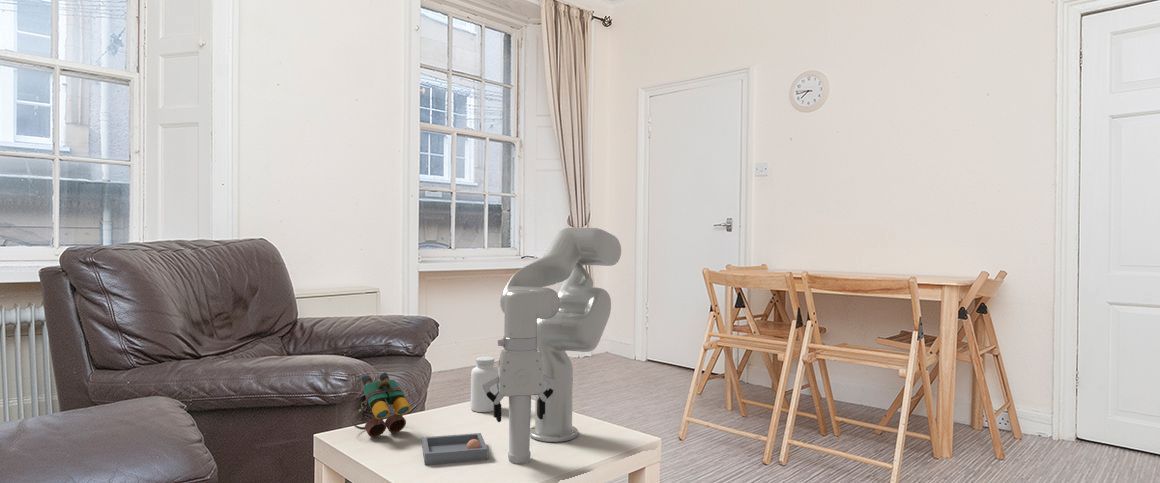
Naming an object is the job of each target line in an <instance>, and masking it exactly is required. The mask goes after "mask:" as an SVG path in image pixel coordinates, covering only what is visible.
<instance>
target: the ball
mask: <svg viewBox="0 0 1160 483" xmlns="http://www.w3.org/2000/svg"><path fill="white" fill-rule="evenodd" d="M474 448H481V444H480V442H479V441H478V440H476V439H472V440H470V441H469V442H468V443H467V449H474Z"/></svg>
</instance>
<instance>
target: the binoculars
mask: <svg viewBox="0 0 1160 483" xmlns="http://www.w3.org/2000/svg"><path fill="white" fill-rule="evenodd" d="M378 378H379V381H374V382H373V380H372V378H371V376H370V375H368V374H365V375H364V374H363V375H362V376H361V378H360V380H361V381H362V383H363V387H362V390H363V393H364V395H365V400H364V401H363V402H361V404H360V406H361V407H360V408H359V409H358V410H356V411H355V412H354V413H353V414H351V415H352V416H351V417H350V418H351V419H350V420H351V423H352V425H353V426H354V428H356V429H357V430H362V431H363V430H364V431H366V433H367V435H368V436H369V437H371V438H376V437H379V436H381V435H383V433H384V432H386V429H387V431H388V432H389V433H391V434H395V433H399V432H401V431H402V430H404V428H405V427H406V424H407V420H406V419H405V417H404V416H403V415H404V414H407V413H408V412H409V411H410V410H411V405H410V404H409V402H408V400H407V399H406V398H405V397H406V396H405V394H404V392H403V390H402V389H401V388H400V386H399V385H398V383H397V382H396V380H394V379H390V377H389V374H387V372H382V373H381V374H380V375H379V377H378ZM386 402H387V403H386ZM363 404H364V405H363ZM387 404H388V405H390V406H391V405H392V409H393V410H394V412H395V413H393V414H390V412H391V410H390V408H389V406H388V405H387ZM368 406H369V408H370V409H371V412H372V413H373V416H374V417H373V418H370V419H369V420H368V421H367V422H366V423H365V425H364V426H358V425H356V424H355V423H354V418H355V417H356V416H357V415H358V414H360V413H361V412H363V411H364V412H365V411H366V410H367V408H368ZM387 416H388V417H387ZM386 417H387V418H386ZM384 418H386V419H385V421H384Z"/></svg>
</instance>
